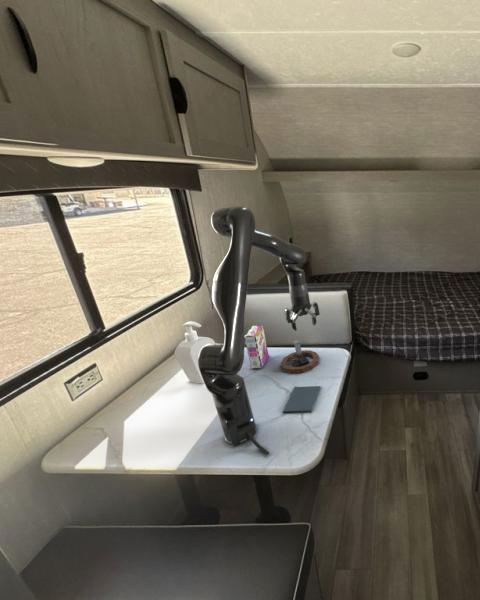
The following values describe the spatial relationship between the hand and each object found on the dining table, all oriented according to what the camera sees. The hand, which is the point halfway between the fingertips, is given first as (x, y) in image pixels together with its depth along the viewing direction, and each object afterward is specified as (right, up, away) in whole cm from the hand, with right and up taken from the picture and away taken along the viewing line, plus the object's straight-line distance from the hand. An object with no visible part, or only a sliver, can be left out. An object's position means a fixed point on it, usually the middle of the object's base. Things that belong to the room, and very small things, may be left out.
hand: (304, 327), depth 139 cm
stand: (-3, -17, +3) cm, 17 cm away
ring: (-3, -17, +3) cm, 17 cm away
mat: (+6, -26, -21) cm, 34 cm away
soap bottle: (-41, -21, -5) cm, 47 cm away
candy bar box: (-22, -17, +5) cm, 28 cm away
